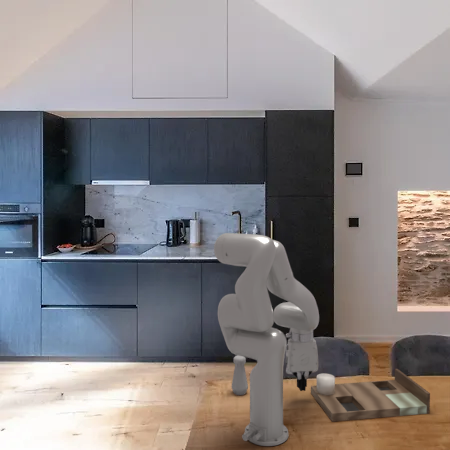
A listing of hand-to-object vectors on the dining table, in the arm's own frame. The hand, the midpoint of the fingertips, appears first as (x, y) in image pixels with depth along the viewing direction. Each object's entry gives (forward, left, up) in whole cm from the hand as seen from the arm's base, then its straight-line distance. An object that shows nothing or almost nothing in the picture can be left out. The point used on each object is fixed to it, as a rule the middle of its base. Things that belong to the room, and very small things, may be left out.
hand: (301, 389), depth 154 cm
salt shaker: (-8, +20, -4) cm, 22 cm away
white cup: (+6, -6, -1) cm, 8 cm away
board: (+11, -18, -4) cm, 22 cm away
